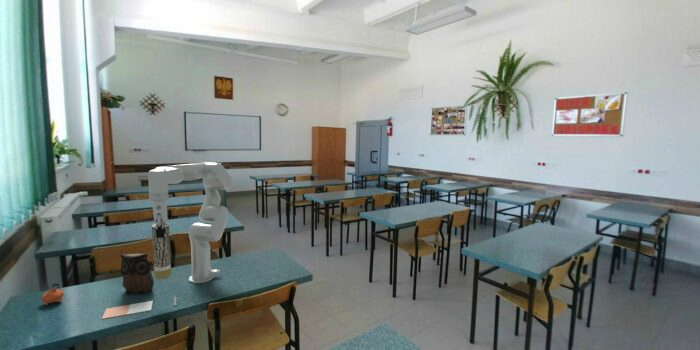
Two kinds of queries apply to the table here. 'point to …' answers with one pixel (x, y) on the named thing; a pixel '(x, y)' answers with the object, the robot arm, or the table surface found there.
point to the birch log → (161, 253)
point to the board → (129, 309)
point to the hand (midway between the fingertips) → (160, 234)
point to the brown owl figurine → (136, 274)
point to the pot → (52, 296)
